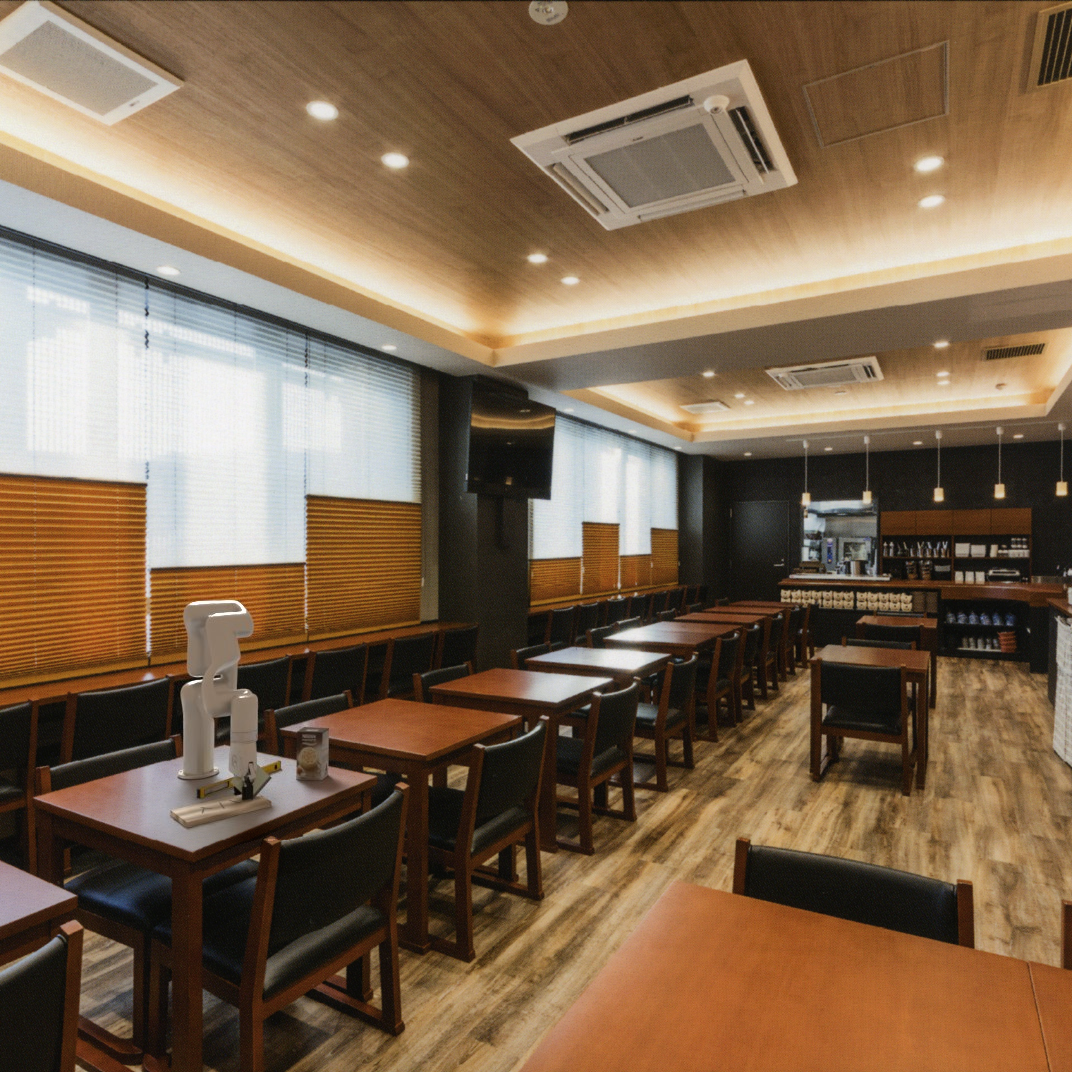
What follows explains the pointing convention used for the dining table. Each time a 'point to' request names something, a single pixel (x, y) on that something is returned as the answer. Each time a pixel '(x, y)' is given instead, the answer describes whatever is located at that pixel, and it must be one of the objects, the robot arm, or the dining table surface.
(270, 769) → the spirit level
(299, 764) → the coffee box
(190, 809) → the board
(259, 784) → the sanding block
